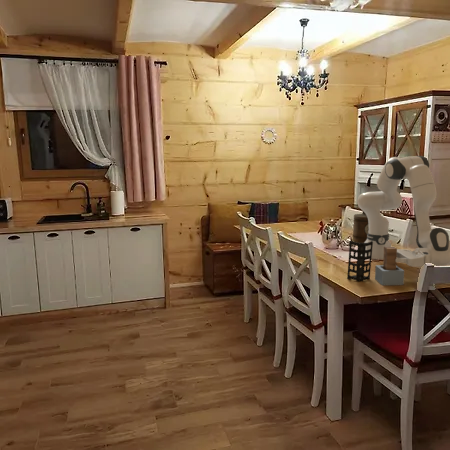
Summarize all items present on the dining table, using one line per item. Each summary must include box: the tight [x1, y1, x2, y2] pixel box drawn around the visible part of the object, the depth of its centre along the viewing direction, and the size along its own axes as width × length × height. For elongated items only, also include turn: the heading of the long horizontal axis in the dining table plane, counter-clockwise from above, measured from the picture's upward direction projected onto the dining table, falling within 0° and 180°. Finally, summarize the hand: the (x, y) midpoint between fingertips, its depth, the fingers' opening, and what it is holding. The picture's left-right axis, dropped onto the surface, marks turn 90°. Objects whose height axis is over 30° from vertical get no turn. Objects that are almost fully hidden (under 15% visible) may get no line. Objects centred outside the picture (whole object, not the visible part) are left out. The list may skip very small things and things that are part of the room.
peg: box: [382, 245, 398, 270], centre depth 202 cm, size 4×4×16 cm
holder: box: [346, 240, 373, 282], centre depth 206 cm, size 11×8×20 cm
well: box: [374, 264, 405, 286], centre depth 202 cm, size 10×10×7 cm
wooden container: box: [352, 210, 369, 243], centre depth 292 cm, size 15×15×22 cm
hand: (391, 257), depth 201 cm, fingers open, 8 cm apart
